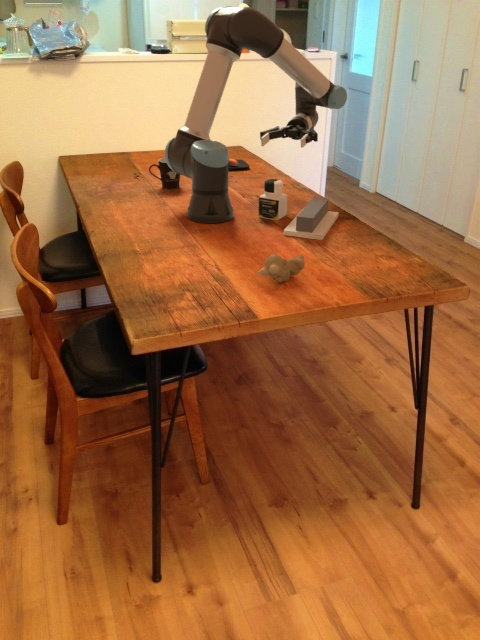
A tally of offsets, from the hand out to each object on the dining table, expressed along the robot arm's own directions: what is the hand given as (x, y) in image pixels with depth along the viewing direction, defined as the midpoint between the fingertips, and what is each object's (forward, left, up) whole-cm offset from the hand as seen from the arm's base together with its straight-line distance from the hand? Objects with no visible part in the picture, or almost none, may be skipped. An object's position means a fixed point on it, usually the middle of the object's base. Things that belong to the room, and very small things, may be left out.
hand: (281, 142), depth 196 cm
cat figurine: (-50, -37, -22) cm, 66 cm away
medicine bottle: (-10, -4, -22) cm, 24 cm away
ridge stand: (-9, -19, -22) cm, 30 cm away
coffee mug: (-8, +48, -22) cm, 53 cm away
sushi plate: (+31, +61, -23) cm, 72 cm away
